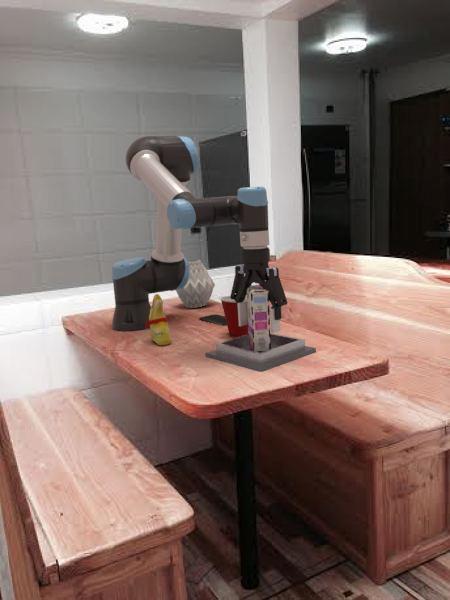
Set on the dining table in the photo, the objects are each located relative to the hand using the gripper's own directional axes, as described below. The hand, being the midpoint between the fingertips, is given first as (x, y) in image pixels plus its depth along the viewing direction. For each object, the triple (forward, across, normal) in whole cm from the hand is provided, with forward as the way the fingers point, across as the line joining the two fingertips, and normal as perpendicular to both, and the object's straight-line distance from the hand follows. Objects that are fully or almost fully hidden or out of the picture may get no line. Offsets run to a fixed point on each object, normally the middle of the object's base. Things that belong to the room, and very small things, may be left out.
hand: (259, 328), depth 143 cm
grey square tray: (+7, 0, 0) cm, 7 cm away
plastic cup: (+7, -20, +11) cm, 24 cm away
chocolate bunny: (+7, -34, -10) cm, 36 cm away
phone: (+8, -40, +20) cm, 45 cm away
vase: (+7, -68, +32) cm, 75 cm away
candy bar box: (+5, 0, 0) cm, 5 cm away
